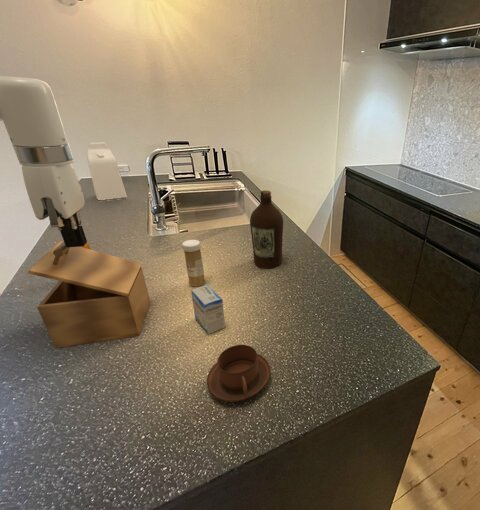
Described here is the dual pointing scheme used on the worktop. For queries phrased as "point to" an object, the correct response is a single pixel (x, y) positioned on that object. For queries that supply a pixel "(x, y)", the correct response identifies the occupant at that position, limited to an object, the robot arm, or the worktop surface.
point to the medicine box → (208, 309)
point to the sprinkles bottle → (194, 262)
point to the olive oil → (267, 233)
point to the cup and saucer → (238, 374)
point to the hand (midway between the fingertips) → (77, 245)
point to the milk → (104, 172)
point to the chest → (93, 313)
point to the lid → (87, 269)
